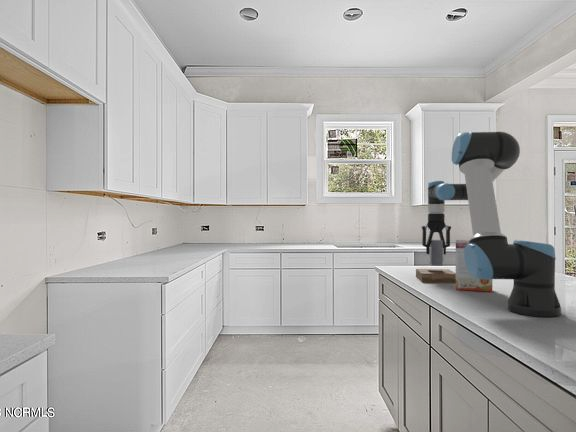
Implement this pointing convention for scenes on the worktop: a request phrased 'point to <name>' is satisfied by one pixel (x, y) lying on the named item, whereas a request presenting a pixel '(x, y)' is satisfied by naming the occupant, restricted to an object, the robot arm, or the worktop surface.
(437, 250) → the peg
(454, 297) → the worktop surface
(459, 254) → the cracker box
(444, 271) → the socket plate
